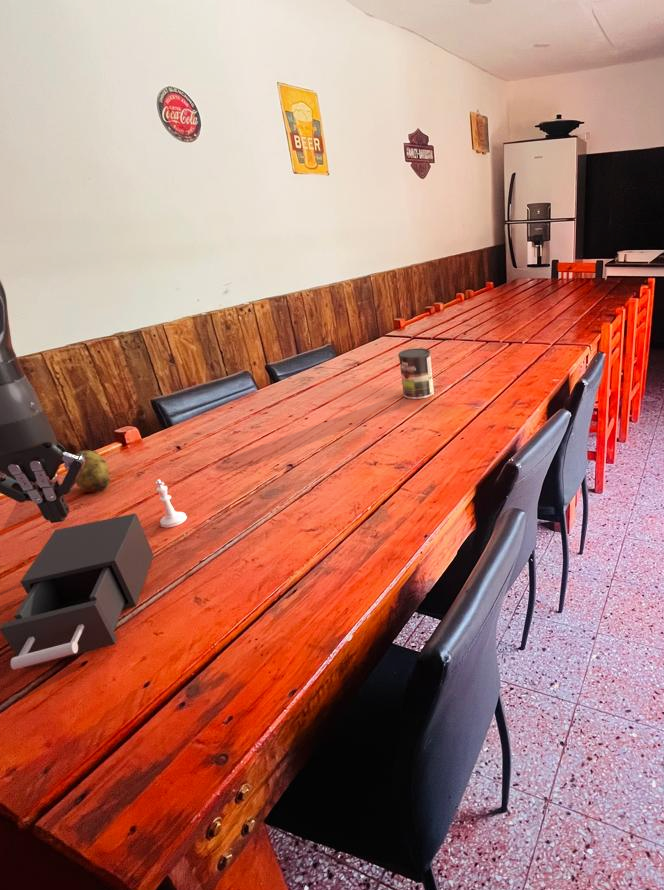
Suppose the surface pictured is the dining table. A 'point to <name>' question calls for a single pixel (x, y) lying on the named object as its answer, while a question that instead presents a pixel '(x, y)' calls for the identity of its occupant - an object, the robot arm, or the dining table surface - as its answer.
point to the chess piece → (169, 508)
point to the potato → (93, 473)
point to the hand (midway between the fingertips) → (59, 519)
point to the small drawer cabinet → (96, 554)
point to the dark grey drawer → (65, 617)
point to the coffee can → (416, 373)
